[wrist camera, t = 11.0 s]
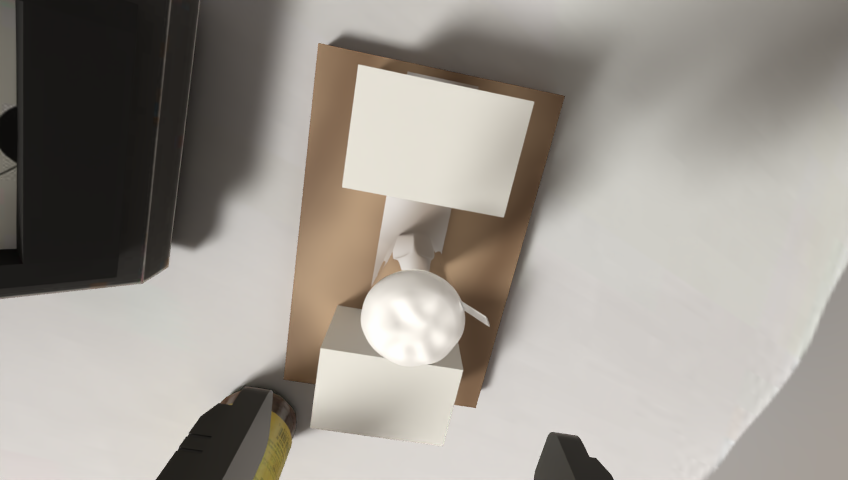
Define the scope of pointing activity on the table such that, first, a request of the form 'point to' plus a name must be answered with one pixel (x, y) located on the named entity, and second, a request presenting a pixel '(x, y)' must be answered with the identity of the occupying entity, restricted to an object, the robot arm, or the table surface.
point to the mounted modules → (424, 182)
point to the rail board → (402, 221)
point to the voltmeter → (90, 139)
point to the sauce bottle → (275, 437)
